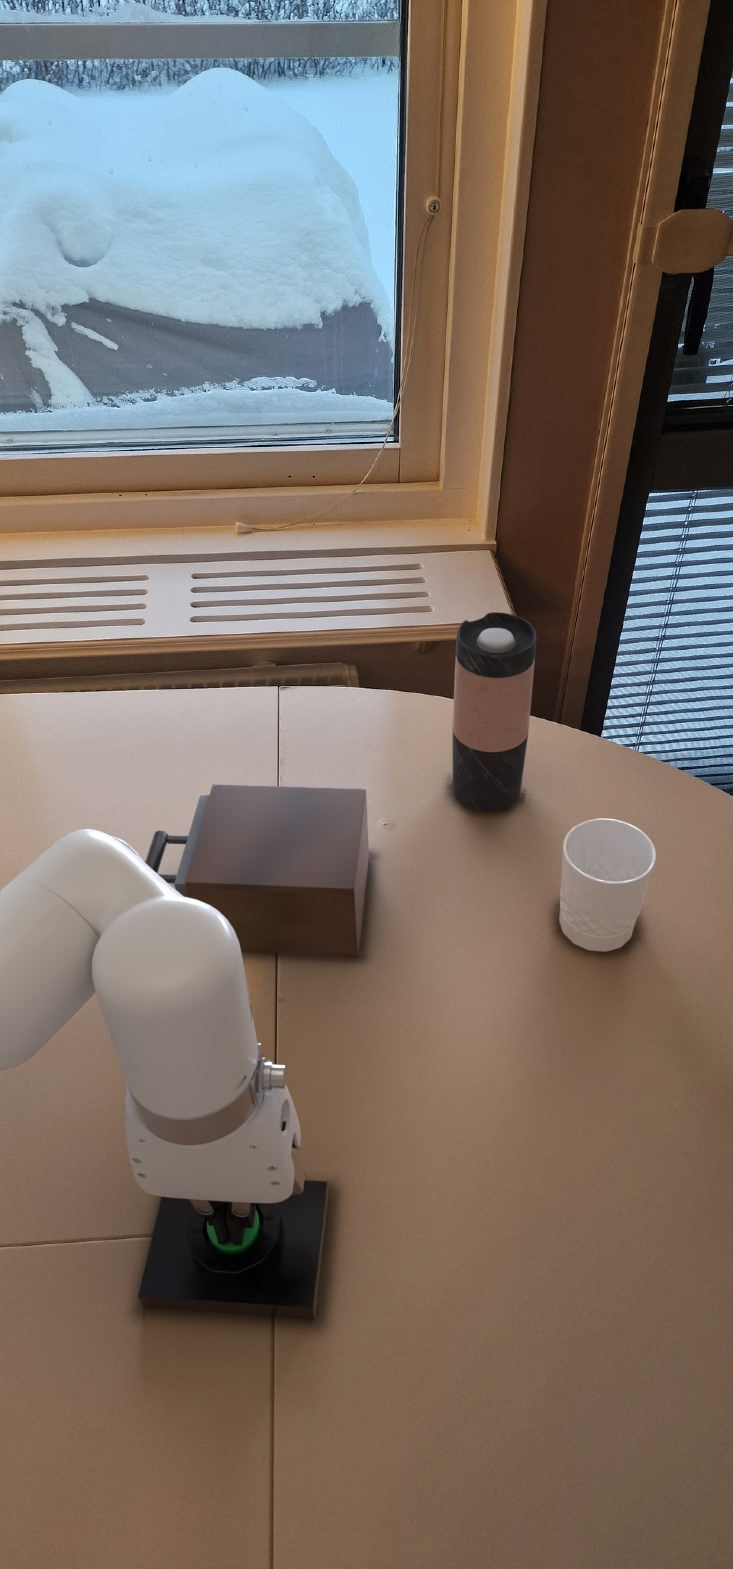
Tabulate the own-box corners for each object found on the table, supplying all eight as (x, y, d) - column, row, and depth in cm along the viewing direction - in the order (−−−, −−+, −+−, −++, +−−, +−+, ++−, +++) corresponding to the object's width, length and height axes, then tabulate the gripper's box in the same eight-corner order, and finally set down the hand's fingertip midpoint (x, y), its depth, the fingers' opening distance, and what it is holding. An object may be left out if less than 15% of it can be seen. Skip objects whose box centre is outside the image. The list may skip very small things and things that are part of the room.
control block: (143, 1309, 72) (133, 1285, 69) (171, 1185, 78) (163, 1159, 76) (315, 1321, 71) (311, 1297, 68) (329, 1195, 78) (326, 1169, 75)
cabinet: (200, 953, 95) (184, 882, 89) (224, 854, 104) (212, 783, 98) (358, 960, 94) (354, 888, 87) (369, 859, 103) (366, 788, 97)
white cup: (631, 968, 92) (648, 892, 86) (544, 945, 94) (554, 870, 88) (645, 905, 98) (662, 829, 91) (562, 885, 100) (573, 810, 93)
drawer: (141, 939, 95) (125, 881, 90) (168, 850, 104) (155, 793, 99) (333, 947, 94) (328, 889, 89) (345, 857, 102) (341, 799, 97)
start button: (205, 1258, 72) (202, 1246, 71) (215, 1207, 74) (212, 1196, 73) (256, 1261, 71) (254, 1250, 70) (264, 1210, 74) (262, 1199, 73)
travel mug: (513, 822, 106) (528, 662, 93) (441, 807, 108) (446, 649, 95) (529, 775, 112) (545, 618, 98) (460, 762, 114) (467, 606, 100)
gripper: (332, 1028, 62) (346, 1178, 74) (88, 1016, 63) (142, 1166, 75) (318, 1144, 56) (336, 1286, 68) (50, 1129, 57) (115, 1271, 70)
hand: (234, 1223), depth 72 cm, fingers closed
